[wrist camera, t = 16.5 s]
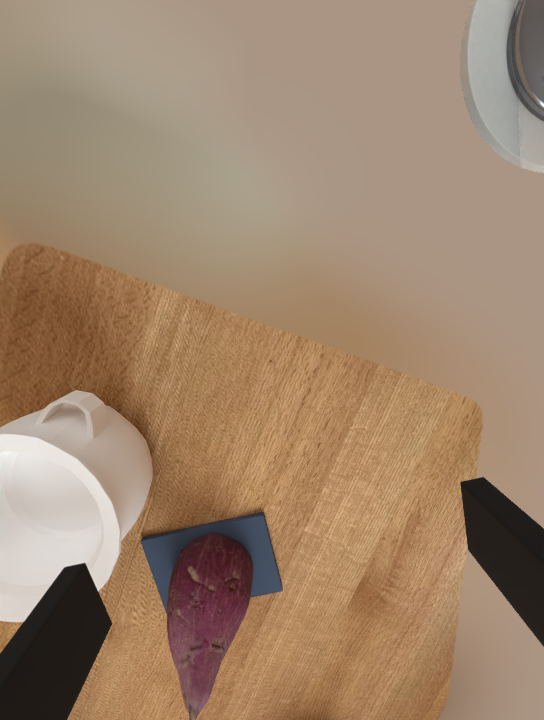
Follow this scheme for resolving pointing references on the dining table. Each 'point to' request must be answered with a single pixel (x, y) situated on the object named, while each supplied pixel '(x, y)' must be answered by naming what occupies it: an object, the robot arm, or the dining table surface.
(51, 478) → the pot
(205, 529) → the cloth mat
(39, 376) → the dining table surface
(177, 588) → the vegetable
